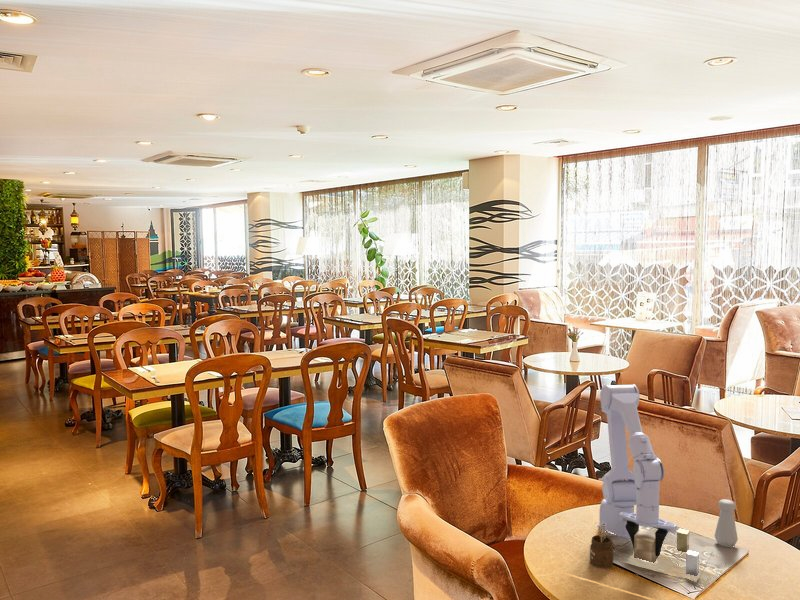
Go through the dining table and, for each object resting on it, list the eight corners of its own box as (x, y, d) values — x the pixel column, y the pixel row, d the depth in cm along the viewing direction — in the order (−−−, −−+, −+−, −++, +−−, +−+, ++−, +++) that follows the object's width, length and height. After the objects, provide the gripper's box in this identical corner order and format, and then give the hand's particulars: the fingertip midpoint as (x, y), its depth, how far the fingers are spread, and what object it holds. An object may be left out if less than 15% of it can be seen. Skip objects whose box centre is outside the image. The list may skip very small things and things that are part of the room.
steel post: (685, 573, 166) (686, 553, 166) (688, 569, 168) (688, 549, 168) (696, 576, 165) (697, 556, 164) (698, 572, 167) (699, 552, 166)
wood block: (633, 558, 175) (634, 535, 174) (639, 551, 179) (640, 528, 178) (653, 564, 172) (654, 540, 171) (659, 556, 176) (659, 533, 175)
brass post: (676, 551, 179) (677, 531, 178) (678, 547, 181) (679, 528, 181) (686, 553, 177) (687, 534, 177) (688, 549, 179) (689, 530, 179)
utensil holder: (613, 560, 175) (613, 517, 174) (612, 571, 169) (613, 527, 168) (590, 557, 176) (590, 515, 176) (589, 568, 171) (589, 524, 170)
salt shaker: (739, 551, 179) (741, 505, 178) (717, 549, 180) (718, 504, 179) (733, 541, 185) (734, 497, 184) (712, 540, 186) (713, 496, 185)
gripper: (615, 502, 175) (615, 550, 176) (672, 514, 167) (671, 565, 168) (623, 494, 181) (623, 540, 182) (678, 505, 172) (677, 554, 173)
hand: (646, 551), depth 175 cm, fingers closed on wood block, 5 cm apart
